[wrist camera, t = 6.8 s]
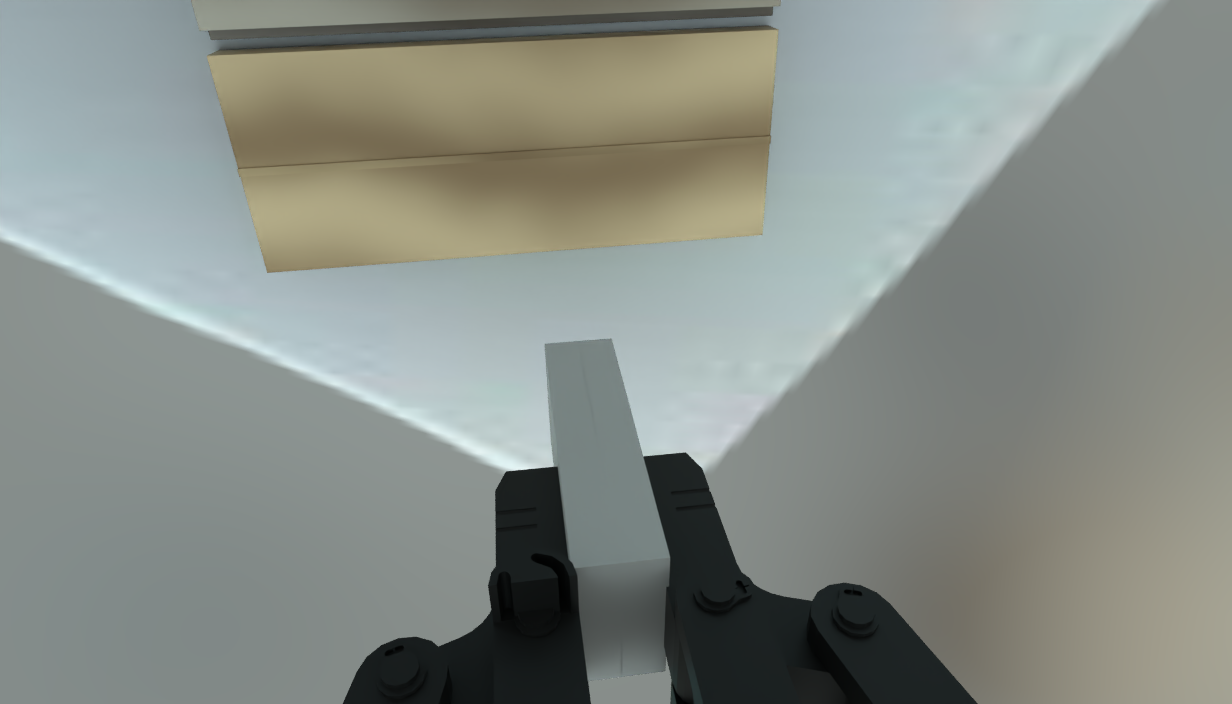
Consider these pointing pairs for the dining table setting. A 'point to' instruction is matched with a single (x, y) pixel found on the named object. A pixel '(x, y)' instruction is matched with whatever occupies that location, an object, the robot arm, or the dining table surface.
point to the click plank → (499, 143)
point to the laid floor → (443, 14)
